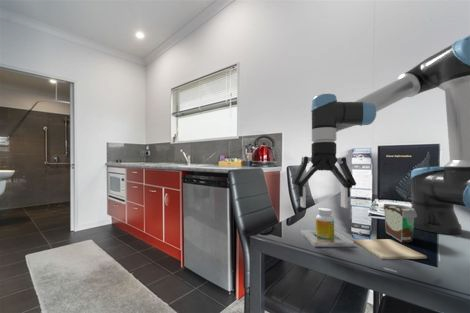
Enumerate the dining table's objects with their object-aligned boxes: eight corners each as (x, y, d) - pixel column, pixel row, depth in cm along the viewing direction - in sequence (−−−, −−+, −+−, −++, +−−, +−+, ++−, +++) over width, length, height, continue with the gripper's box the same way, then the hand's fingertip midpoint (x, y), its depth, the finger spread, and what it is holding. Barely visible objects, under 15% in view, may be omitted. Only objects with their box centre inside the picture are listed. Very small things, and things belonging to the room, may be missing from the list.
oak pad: (390, 241, 65) (390, 239, 65) (426, 258, 53) (426, 256, 53) (353, 241, 64) (353, 239, 64) (381, 259, 52) (381, 256, 52)
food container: (428, 245, 61) (427, 212, 62) (404, 244, 62) (403, 211, 63) (403, 232, 73) (402, 204, 74) (383, 231, 74) (383, 203, 75)
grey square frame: (333, 232, 72) (333, 229, 72) (354, 246, 60) (354, 242, 60) (300, 233, 72) (300, 229, 72) (314, 246, 60) (314, 242, 60)
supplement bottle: (332, 243, 62) (332, 211, 63) (314, 240, 65) (314, 209, 66) (335, 238, 67) (335, 208, 67) (318, 235, 70) (317, 206, 70)
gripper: (353, 144, 71) (354, 205, 71) (283, 142, 71) (282, 204, 70) (368, 141, 64) (368, 210, 63) (289, 140, 63) (289, 209, 62)
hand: (323, 207), depth 67 cm, fingers open, 13 cm apart
